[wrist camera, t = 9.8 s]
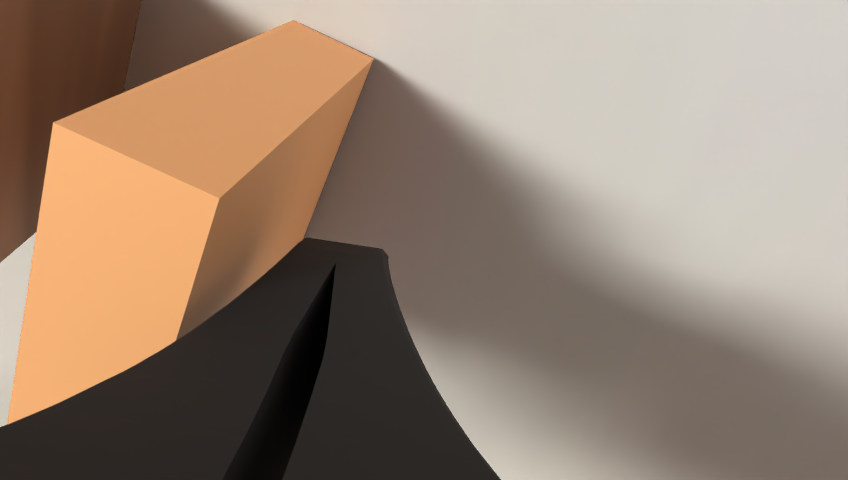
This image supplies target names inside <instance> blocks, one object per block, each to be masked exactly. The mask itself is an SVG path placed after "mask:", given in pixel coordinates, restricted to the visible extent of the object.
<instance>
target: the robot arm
mask: <svg viewBox="0 0 848 480" xmlns="http://www.w3.org/2000/svg"><path fill="white" fill-rule="evenodd" d="M0 480H501V479H500V478H499V477H498V476H497V474H496V473H495V472H494V471H493V469H492V468H491V467H490V465H489V464H488V463H487V462H486V460H485V459H484V458H483V457H482V455H481V454H480V453H479V452H478V450H477V449H476V448H475V447H474V445H473V444H472V442H471V441H470V440H469V438H468V437H467V435H466V434H465V432H464V431H463V429H462V428H461V426H460V425H459V423H458V422H457V420H456V419H455V418H454V416H453V415H452V413H451V411H450V410H449V408H448V406H447V405H446V403H445V402H444V400H443V398H442V397H441V395H440V393H439V392H438V390H437V388H436V386H435V385H434V383H433V381H432V379H431V377H430V375H429V374H428V372H427V370H426V368H425V366H424V364H423V362H422V360H421V358H420V355H419V353H418V351H417V349H416V347H415V345H414V343H413V340H412V338H411V336H410V334H409V331H408V329H407V326H406V323H405V321H404V318H403V316H402V313H401V310H400V308H399V305H398V302H397V299H396V296H395V292H394V288H393V285H392V281H391V277H390V272H389V265H388V255H387V254H386V253H385V252H384V250H383V249H379V248H372V247H366V246H359V245H352V244H346V243H339V242H332V241H326V240H319V239H312V238H305V239H303V240H302V241H300V242H299V243H298V244H297V245H296V246H295V247H293V248H292V249H291V250H290V251H289V252H288V253H287V254H286V255H285V256H284V257H283V258H282V259H281V260H280V261H279V262H277V263H276V264H275V265H274V266H273V267H272V268H271V269H270V270H268V271H267V272H266V273H265V274H264V275H263V276H262V277H260V278H259V279H258V280H257V281H256V282H254V283H253V284H252V285H251V286H250V287H248V288H247V289H246V290H245V291H243V292H242V293H241V294H240V295H239V296H237V297H236V298H235V299H234V300H232V301H231V302H230V303H229V304H227V305H226V306H225V307H223V308H222V309H220V310H219V311H218V312H216V313H215V314H213V315H212V316H211V317H209V318H208V319H207V320H205V321H204V322H202V323H201V324H200V325H198V326H197V327H195V328H194V329H193V330H191V331H190V332H188V333H187V334H185V335H184V336H182V337H181V338H179V339H178V340H176V341H175V342H173V343H172V344H170V345H168V346H167V347H165V348H164V349H162V350H160V351H159V352H157V353H155V354H153V355H152V356H150V357H148V358H147V359H145V360H143V361H141V362H140V363H138V364H136V365H134V366H132V367H131V368H129V369H127V370H125V371H123V372H121V373H119V374H117V375H115V376H113V377H111V378H109V379H107V380H105V381H102V382H100V383H98V384H96V385H94V386H92V387H90V388H88V389H86V390H84V391H82V392H80V393H78V394H76V395H74V396H72V397H70V398H68V399H66V400H63V401H61V402H59V403H57V404H55V405H53V406H50V407H48V408H46V409H43V410H41V411H39V412H36V413H34V414H32V415H29V416H27V417H24V418H22V419H20V420H17V421H15V422H12V423H10V424H8V425H5V426H2V427H0Z"/></svg>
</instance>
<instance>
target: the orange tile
mask: <svg viewBox="0 0 848 480" xmlns="http://www.w3.org/2000/svg"><path fill="white" fill-rule="evenodd" d="M373 60H374V58H371V57H369V56H367V55H365V54H363V53H361V52H359V51H357V50H355V49H353V48H351V47H349V46H346V45H344V44H342V43H340V42H338V41H336V40H334V39H332V38H330V37H328V36H326V35H323V34H321V33H319V32H317V31H315V30H313V29H311V28H309V27H307V26H305V25H303V24H301V23H298V22H296V21H294V20H293V21H290V22H288V23H286V24H283V25H281V26H279V27H276V28H274V29H272V30H269V31H267V32H265V33H262V34H260V35H257V36H255V37H253V38H250V39H248V40H246V41H243V42H241V43H239V44H236V45H234V46H232V47H229V48H227V49H225V50H222V51H220V52H218V53H215V54H213V55H210V56H208V57H206V58H203V59H201V60H199V61H196V62H194V63H192V64H189V65H187V66H185V67H182V68H180V69H178V70H175V71H173V72H171V73H168V74H166V75H164V76H161V77H159V78H156V79H154V80H152V81H149V82H147V83H145V84H142V85H140V86H138V87H135V88H133V89H131V90H128V91H126V92H124V93H121V94H119V95H117V96H114V97H112V98H109V99H107V100H105V101H102V102H100V103H98V104H95V105H93V106H91V107H88V108H86V109H84V110H81V111H79V112H77V113H74V114H72V115H70V116H67V117H65V118H63V119H60V120H58V121H55V122H53V127H52V133H51V140H50V146H49V153H48V159H47V166H46V173H45V179H44V186H43V192H42V199H41V205H40V212H39V219H38V225H37V232H36V238H35V245H34V252H33V258H32V265H31V271H30V278H29V284H28V291H27V298H26V304H25V311H24V317H23V324H22V330H21V337H20V344H19V350H18V357H17V363H16V370H15V377H14V383H13V390H12V396H11V403H10V409H9V416H8V423H7V425H8V424H10V423H12V422H15V421H17V420H20V419H22V418H24V417H27V416H29V415H32V414H34V413H36V412H39V411H41V410H43V409H46V408H48V407H50V406H53V405H55V404H57V403H59V402H61V401H63V400H66V399H68V398H70V397H72V396H74V395H76V394H78V393H80V392H82V391H84V390H86V389H88V388H90V387H92V386H94V385H96V384H98V383H100V382H102V381H105V380H107V379H109V378H111V377H113V376H115V375H117V374H119V373H121V372H123V371H125V370H127V369H129V368H131V367H132V366H134V365H136V364H138V363H140V362H141V361H143V360H145V359H147V358H148V357H150V356H152V355H153V354H155V353H157V352H159V351H160V350H162V349H164V348H165V347H167V346H168V345H170V344H172V343H173V342H175V341H176V340H178V339H179V338H181V337H182V336H184V335H185V334H187V333H188V332H190V331H191V330H193V329H194V328H195V327H197V326H198V325H200V324H201V323H202V322H204V321H205V320H207V319H208V318H209V317H211V316H212V315H213V314H215V313H216V312H218V311H219V310H220V309H222V308H223V307H225V306H226V305H227V304H229V303H230V302H231V301H232V300H234V299H235V298H236V297H237V296H239V295H240V294H241V293H242V292H243V291H245V290H246V289H247V288H248V287H250V286H251V285H252V284H253V283H254V282H256V281H257V280H258V279H259V278H260V277H262V276H263V275H264V274H265V273H266V272H267V271H268V270H270V269H271V268H272V267H273V266H274V265H275V264H276V263H277V262H279V261H280V260H281V259H282V258H283V257H284V256H285V255H286V254H287V253H288V252H289V251H290V250H291V249H292V248H293V247H295V246H296V245H297V244H298V243H299V242H300V241H302V240H303V238H304V235H305V233H306V230H307V227H308V225H309V222H310V220H311V217H312V215H313V212H314V210H315V207H316V205H317V202H318V199H319V197H320V194H321V192H322V189H323V187H324V184H325V182H326V179H327V177H328V174H329V171H330V169H331V166H332V164H333V161H334V159H335V156H336V154H337V151H338V149H339V146H340V144H341V141H342V138H343V136H344V133H345V131H346V128H347V126H348V123H349V121H350V118H351V116H352V113H353V110H354V108H355V105H356V103H357V100H358V98H359V95H360V93H361V90H362V88H363V85H364V82H365V80H366V77H367V75H368V72H369V70H370V67H371V65H372V62H373Z"/></svg>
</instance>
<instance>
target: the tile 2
mask: <svg viewBox="0 0 848 480" xmlns="http://www.w3.org/2000/svg"><path fill="white" fill-rule="evenodd" d="M140 4H141V0H0V262H1V261H3V260H4V259H5V258H6V257H7V256H8V255H10V254H11V253H12V252H13V251H14V250H15V249H17V248H18V247H19V246H20V245H21V244H23V243H24V242H25V241H26V240H27V239H28V238H30V237H31V236H32V235H33V234H34V233H35V232H37V225H38V219H39V212H40V205H41V199H42V192H43V186H44V179H45V173H46V166H47V159H48V153H49V146H50V140H51V133H52V127H53V122H55V121H58V120H60V119H63V118H65V117H67V116H70V115H72V114H74V113H77V112H79V111H81V110H84V109H86V108H88V107H91V106H93V105H95V104H98V103H100V102H102V101H105V100H107V99H109V98H112V97H114V96H117V95H119V94H121V93H123V89H124V84H125V79H126V74H127V69H128V64H129V59H130V54H131V49H132V44H133V39H134V34H135V29H136V24H137V19H138V14H139V9H140Z"/></svg>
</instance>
